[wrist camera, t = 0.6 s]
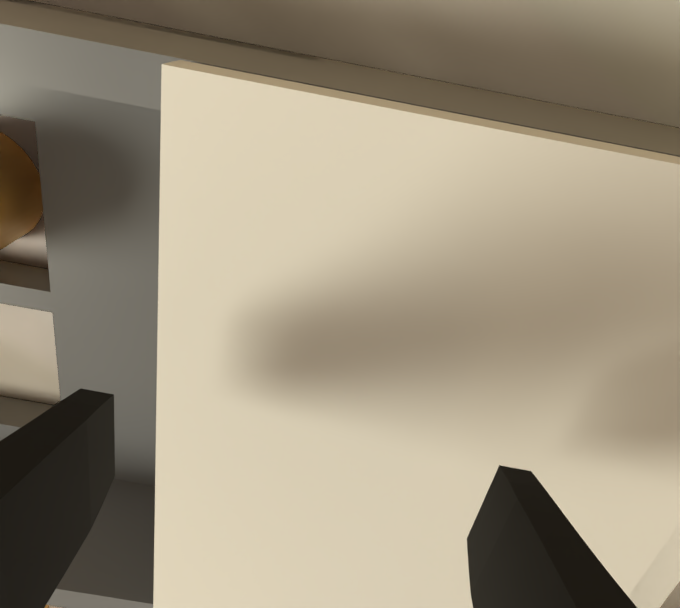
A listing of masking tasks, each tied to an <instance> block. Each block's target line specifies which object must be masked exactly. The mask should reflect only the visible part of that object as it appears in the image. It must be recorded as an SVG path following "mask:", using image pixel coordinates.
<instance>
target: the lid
mask: <svg viewBox="0 0 680 608" xmlns="http://www.w3.org/2000/svg"><path fill="white" fill-rule="evenodd" d="M499 465H501V466H506V467H512V468H517V469H522V470H528V471H531V472H532V473H533V474H534V475H535V477H536V478H537V479H538V480H539V482H540V483H541V484H542V486H543V487H544V488H545V490H546V491H547V492H548V494H549V495H550V496H551V498H552V499H553V500H554V502H555V503H556V504H557V506H558V507H559V508H560V510H561V511H562V512H563V514H564V515H565V516H566V518H567V519H568V520H569V522H570V523H571V524H572V526H573V527H574V528H575V530H576V531H577V532H578V534H579V535H580V536H581V538H582V539H583V540H584V541H585V543H586V544H587V545H588V547H589V548H590V549H591V551H592V552H593V553H594V554H595V556H596V557H597V558H598V560H599V561H600V562H601V563H602V565H603V566H604V567H605V569H606V570H607V571H608V572H609V574H610V575H611V576H612V577H613V579H614V580H615V581H616V582H617V584H618V585H619V586H620V587H621V589H622V590H623V591H624V592H625V593H626V595H627V596H628V597H629V598H630V600H631V601H632V602H633V603H634V604H635V606H636V607H637V608H660V607H661V605H662V604H663V603H664V601H665V600H666V599H667V597H668V596H669V595H670V593H671V592H672V591H673V589H674V588H675V587H676V585H677V584H678V583H679V581H680V157H677V156H672V155H667V154H662V153H657V152H652V151H647V150H641V149H636V148H631V147H626V146H621V145H616V144H611V143H605V142H600V141H595V140H590V139H585V138H580V137H575V136H569V135H564V134H559V133H554V132H549V131H544V130H539V129H533V128H528V127H523V126H518V125H513V124H508V123H503V122H497V121H492V120H487V119H482V118H477V117H472V116H466V115H461V114H456V113H451V112H446V111H441V110H436V109H430V108H425V107H420V106H415V105H410V104H405V103H400V102H394V101H389V100H384V99H379V98H374V97H369V96H364V95H358V94H353V93H348V92H343V91H338V90H333V89H328V88H322V87H317V86H312V85H307V84H302V83H297V82H292V81H286V80H281V79H276V78H271V77H266V76H261V75H256V74H250V73H245V72H240V71H235V70H230V69H225V68H219V67H214V66H209V65H204V64H199V63H194V62H189V61H183V60H178V61H173V62H169V63H164V64H162V69H161V134H160V199H159V265H158V330H157V395H156V461H155V526H154V591H153V608H473V604H472V599H471V591H470V579H469V567H468V550H467V537H468V535H469V532H470V530H471V528H472V526H473V523H474V521H475V519H476V517H477V514H478V512H479V510H480V508H481V505H482V503H483V501H484V499H485V496H486V494H487V492H488V490H489V487H490V485H491V483H492V481H493V478H494V476H495V474H496V472H497V469H498V467H499Z"/></svg>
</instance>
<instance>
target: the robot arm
mask: <svg viewBox="0 0 680 608" xmlns="http://www.w3.org/2000/svg"><path fill="white" fill-rule="evenodd" d="M114 477H115V435H114V394H109V393H103V392H98V391H92V390H87V389H81V388H80V389H79V390H77V391H76V392H74V393H73V394H71V395H69V396H68V397H66V398H65V399H63V400H62V401H60V402H58V403H57V404H55V405H54V406H52V407H51V408H49V409H48V410H46V411H45V412H43V413H42V414H40V415H39V416H37V417H36V418H34V419H33V420H31V421H30V422H28V423H27V424H25V425H24V426H22V427H21V428H19V429H18V430H16V431H15V432H13V433H12V434H10V435H9V436H7V437H5V438H4V439H2V440H1V441H0V608H45V606H46V604H47V603H48V601H49V599H50V598H51V596H52V594H53V593H54V591H55V589H56V588H57V586H58V584H59V583H60V581H61V579H62V578H63V576H64V574H65V573H66V571H67V569H68V568H69V566H70V564H71V562H72V561H73V559H74V557H75V556H76V554H77V552H78V551H79V549H80V547H81V546H82V544H83V542H84V540H85V539H86V537H87V535H88V534H89V532H90V530H91V528H92V526H93V524H94V522H95V520H96V518H97V515H98V513H99V511H100V509H101V507H102V505H103V502H104V500H105V498H106V495H107V493H108V491H109V489H110V486H111V484H112V482H113V479H114ZM467 550H468V567H469V579H470V591H471V599H472V604H473V608H637V607H636V606H635V604H634V603H633V602H632V601H631V600H630V598H629V597H628V596H627V595H626V593H625V592H624V591H623V590H622V589H621V587H620V586H619V585H618V584H617V582H616V581H615V580H614V579H613V577H612V576H611V575H610V574H609V572H608V571H607V570H606V569H605V567H604V566H603V565H602V563H601V562H600V561H599V560H598V558H597V557H596V556H595V554H594V553H593V552H592V551H591V549H590V548H589V547H588V545H587V544H586V543H585V541H584V540H583V539H582V538H581V536H580V535H579V534H578V532H577V531H576V530H575V528H574V527H573V526H572V524H571V523H570V522H569V520H568V519H567V518H566V516H565V515H564V514H563V512H562V511H561V510H560V508H559V507H558V506H557V504H556V503H555V502H554V500H553V499H552V498H551V496H550V495H549V494H548V492H547V491H546V490H545V488H544V487H543V486H542V484H541V483H540V482H539V480H538V479H537V478H536V477H535V475H534V474H533V473H532V472H531V471H528V470H522V469H517V468H512V467H506V466H501V465H499V467H498V469H497V472H496V474H495V476H494V478H493V481H492V483H491V485H490V487H489V490H488V492H487V494H486V496H485V499H484V501H483V503H482V505H481V508H480V510H479V512H478V514H477V517H476V519H475V521H474V523H473V526H472V528H471V530H470V532H469V535H468V537H467Z"/></svg>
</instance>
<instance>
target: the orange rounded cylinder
mask: <svg viewBox="0 0 680 608" xmlns="http://www.w3.org/2000/svg"><path fill="white" fill-rule="evenodd" d="M42 213H43V204H42V193H41V182H40V176H39V173H38V171H37V169H36V167H35V166H34V164H33V162H32V161H31V159H30V158H29V157H28V155H27V154H26V153H25V152H24V151H23V149H22V148H21V147H20V146H18V145H17V144H16V143H15V142H14V141H13V140H12V139H10V138H9V137H8V136H6V135H5V134H3V133H1V132H0V250H1V249H3V248H4V247H6V246H7V245H9V244H11V243H12V242H14V241H15V240H17V239H19V238H20V237H22V236H23V235H25V234H26V233H28V232H29V231H31V230H32V229H33V228H34V227H35V226H36V224H37V223H38V222H39V220H40V218H41V216H42Z"/></svg>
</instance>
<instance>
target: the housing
mask: <svg viewBox="0 0 680 608" xmlns="http://www.w3.org/2000/svg"><path fill="white" fill-rule="evenodd" d="M178 60H183V61H189V62H194V63H199V64H204V65H209V66H214V67H219V68H225V69H230V70H235V71H240V72H245V73H250V74H256V75H261V76H266V77H271V78H276V79H281V80H286V81H292V82H297V83H302V84H307V85H312V86H317V87H322V88H328V89H333V90H338V91H343V92H348V93H353V94H358V95H364V96H369V97H374V98H379V99H384V100H389V101H394V102H400V103H405V104H410V105H415V106H420V107H425V108H430V109H436V110H441V111H446V112H451V113H456V114H461V115H466V116H472V117H477V118H482V119H487V120H492V121H497V122H503V123H508V124H513V125H518V126H523V127H528V128H533V129H539V130H544V131H549V132H554V133H559V134H564V135H569V136H575V137H580V138H585V139H590V140H595V141H600V142H605V143H611V144H616V145H621V146H626V147H631V148H636V149H641V150H647V151H652V152H657V153H662V154H667V155H672V156H677V157H680V128H677V127H672V126H666V125H661V124H656V123H651V122H646V121H641V120H636V119H631V118H626V117H621V116H616V115H610V114H605V113H600V112H595V111H590V110H585V109H580V108H575V107H570V106H565V105H559V104H554V103H549V102H544V101H539V100H534V99H529V98H524V97H519V96H514V95H509V94H503V93H498V92H493V91H488V90H483V89H478V88H473V87H468V86H463V85H458V84H452V83H447V82H442V81H437V80H432V79H427V78H422V77H417V76H412V75H407V74H401V73H396V72H391V71H386V70H381V69H376V68H371V67H366V66H361V65H356V64H351V63H345V62H340V61H335V60H330V59H325V58H320V57H315V56H310V55H305V54H300V53H294V52H289V51H284V50H279V49H274V48H269V47H264V46H259V45H254V44H249V43H243V42H238V41H233V40H228V39H223V38H218V37H213V36H208V35H203V34H198V33H193V32H187V31H182V30H177V29H172V28H167V27H162V26H157V25H152V24H147V23H142V22H136V21H131V20H126V19H121V18H116V17H111V16H106V15H101V14H96V13H91V12H86V11H80V10H75V9H70V8H65V7H60V6H55V5H50V4H45V3H40V2H35V1H29V0H0V115H2V116H7V117H12V118H17V119H23V120H28V121H33V122H35V128H36V138H37V149H38V160H39V171H40V182H41V193H42V204H43V214H44V225H45V236H46V247H47V258H48V269H45V268H39V267H34V266H28V265H23V264H17V263H12V262H6V261H0V303H2V304H7V305H13V306H19V307H24V308H30V309H35V310H41V311H47V312H52V313H53V323H54V334H55V345H56V356H57V366H58V377H59V388H60V399H61V401H62V400H63V399H65V398H66V397H68V396H69V395H71V394H73V393H74V392H76V391H77V390H79V389H80V388H81V389H87V390H92V391H98V392H103V393H109V394H114V435H115V477H114V479H113V482H112V484H111V486H110V489H109V491H108V493H107V495H106V498H105V500H104V502H103V505H102V507H101V509H100V511H99V513H98V515H97V518H96V520H95V522H94V524H93V526H92V528H91V530H90V532H89V534H88V535H87V537H86V539H85V540H84V542H83V544H82V546H81V547H80V549H79V551H78V552H77V554H76V556H75V557H74V559H73V561H72V562H71V564H70V566H69V568H68V569H67V571H66V573H65V574H64V576H63V578H62V579H61V581H60V583H59V584H58V586H57V588H56V589H55V591H54V593H53V594H52V596H51V598H50V599H49V601H48V603H47V604H46V605H50V606H57V607H63V608H153V591H154V526H155V461H156V395H157V330H158V265H159V199H160V134H161V69H162V64H164V63H169V62H173V61H178ZM52 406H54V405H49V404H43V403H37V402H31V401H25V400H19V399H14V398H8V397H2V396H0V441H1V440H2V439H4V438H5V437H7V436H9V435H10V434H12V433H13V432H15V431H16V430H18V429H19V428H21V427H22V426H24V425H25V424H27V423H28V422H30V421H31V420H33V419H34V418H36V417H37V416H39V415H40V414H42V413H43V412H45V411H46V410H48V409H49V408H51V407H52Z"/></svg>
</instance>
